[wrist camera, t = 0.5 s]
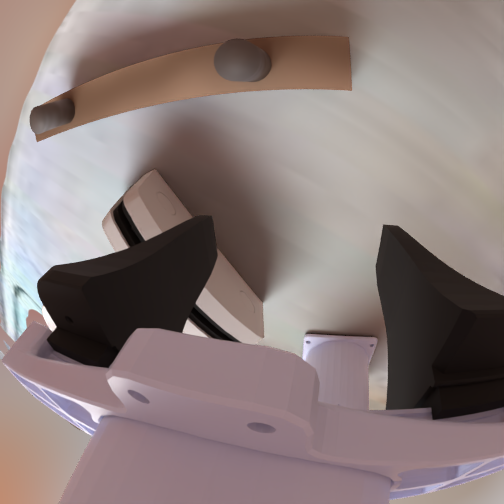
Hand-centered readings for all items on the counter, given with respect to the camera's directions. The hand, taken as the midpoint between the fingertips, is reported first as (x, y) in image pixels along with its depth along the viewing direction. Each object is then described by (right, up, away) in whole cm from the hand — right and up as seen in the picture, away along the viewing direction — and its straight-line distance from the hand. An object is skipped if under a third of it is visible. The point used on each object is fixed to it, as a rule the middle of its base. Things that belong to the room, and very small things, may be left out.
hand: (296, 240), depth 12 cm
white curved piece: (-6, 0, +14) cm, 16 cm away
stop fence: (-7, +12, +6) cm, 16 cm away
